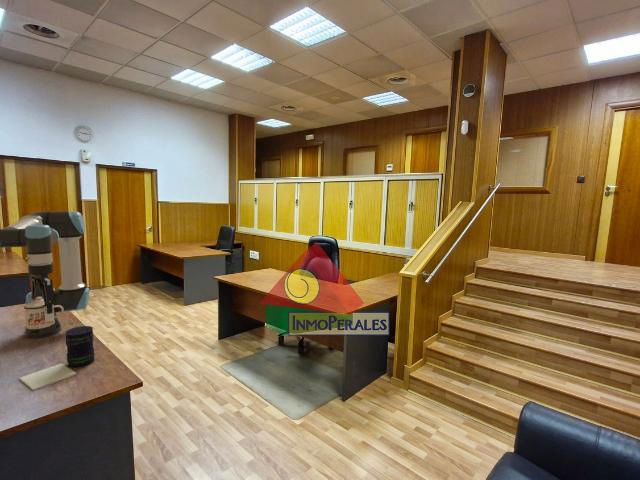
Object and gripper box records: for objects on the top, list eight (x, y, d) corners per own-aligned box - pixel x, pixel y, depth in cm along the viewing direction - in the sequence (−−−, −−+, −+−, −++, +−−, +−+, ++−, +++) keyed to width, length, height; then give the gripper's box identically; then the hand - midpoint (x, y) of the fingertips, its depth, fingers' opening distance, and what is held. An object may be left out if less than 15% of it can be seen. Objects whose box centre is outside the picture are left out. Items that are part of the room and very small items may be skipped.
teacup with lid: (24, 331, 125) (22, 302, 123) (26, 324, 132) (24, 296, 131) (64, 324, 132) (62, 296, 131) (64, 318, 139) (62, 291, 138)
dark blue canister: (63, 369, 137) (61, 336, 136) (71, 359, 147) (69, 327, 145) (91, 366, 141) (89, 333, 139) (97, 355, 150) (95, 324, 148)
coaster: (19, 379, 130) (19, 377, 130) (61, 364, 142) (61, 363, 142) (33, 390, 122) (33, 389, 122) (76, 374, 134) (76, 373, 134)
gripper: (18, 262, 132) (22, 316, 134) (39, 268, 121) (43, 327, 123) (41, 259, 138) (45, 311, 141) (63, 265, 127) (67, 321, 129)
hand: (44, 318), depth 132 cm, fingers closed on teacup with lid, 9 cm apart
